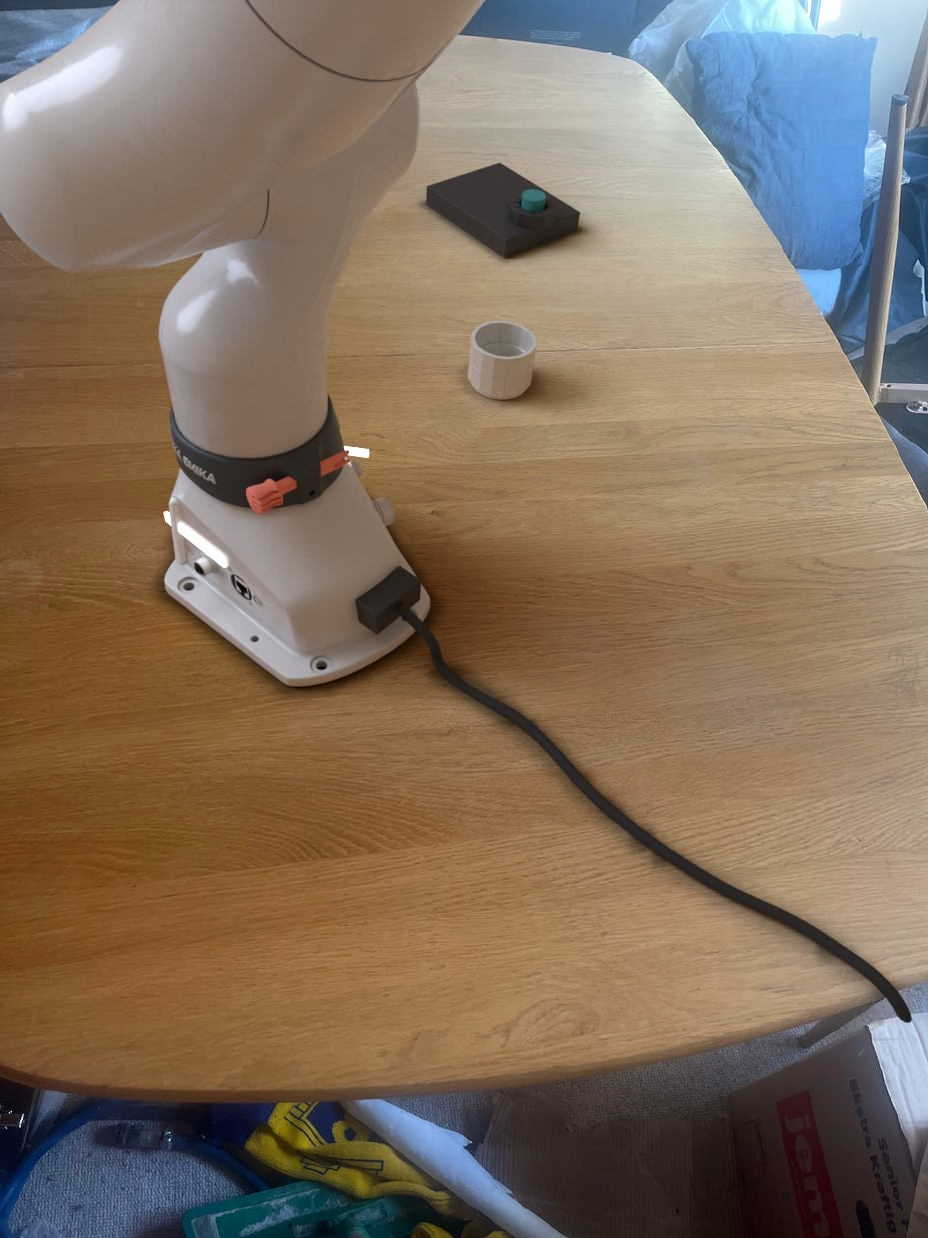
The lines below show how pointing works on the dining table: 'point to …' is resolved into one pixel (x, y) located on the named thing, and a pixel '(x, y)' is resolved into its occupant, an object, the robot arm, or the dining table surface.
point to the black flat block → (500, 210)
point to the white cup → (501, 359)
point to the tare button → (533, 200)
